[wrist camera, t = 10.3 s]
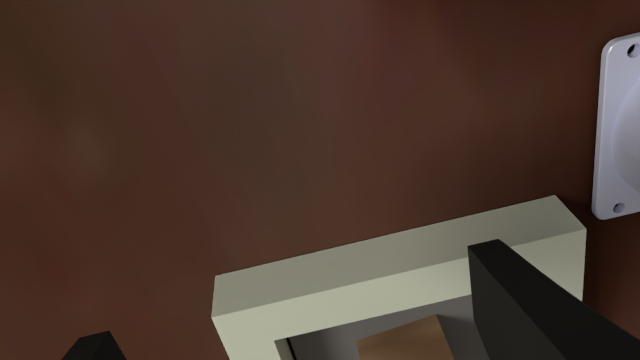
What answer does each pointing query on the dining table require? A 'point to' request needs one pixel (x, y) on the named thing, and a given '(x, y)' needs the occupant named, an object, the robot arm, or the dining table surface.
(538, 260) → the board
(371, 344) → the walnut block
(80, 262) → the dining table surface
